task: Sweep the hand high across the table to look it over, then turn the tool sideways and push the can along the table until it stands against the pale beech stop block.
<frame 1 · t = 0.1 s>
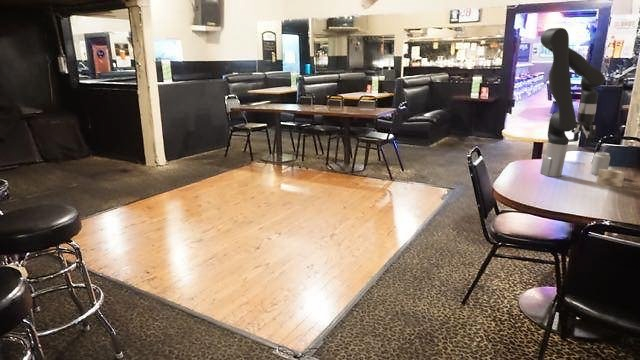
hand: (581, 143, 219), 17 cm above the table, tool pointing down, fingers open, 8 cm apart
can: (597, 174, 226), on the table
stop block: (608, 184, 208), on the table
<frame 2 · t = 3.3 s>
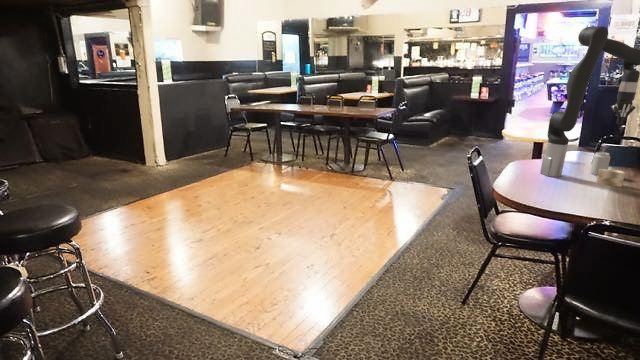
hand: (619, 123, 223), 27 cm above the table, tool pointing down, fingers closed
nothing on the table moved.
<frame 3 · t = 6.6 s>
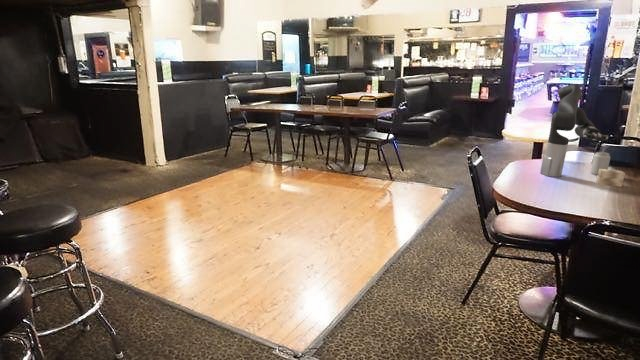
hand: (599, 139, 229), 17 cm above the table, tool horizontal, fingers closed
nothing on the table moved.
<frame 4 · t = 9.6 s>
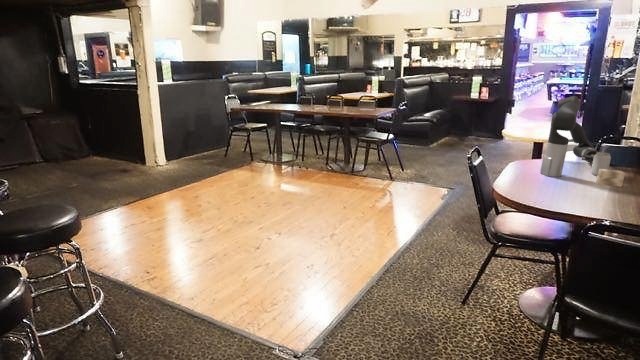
hand: (599, 162, 226), 6 cm above the table, tool horizontal, fingers closed
can: (598, 175, 225), on the table, touching gripper
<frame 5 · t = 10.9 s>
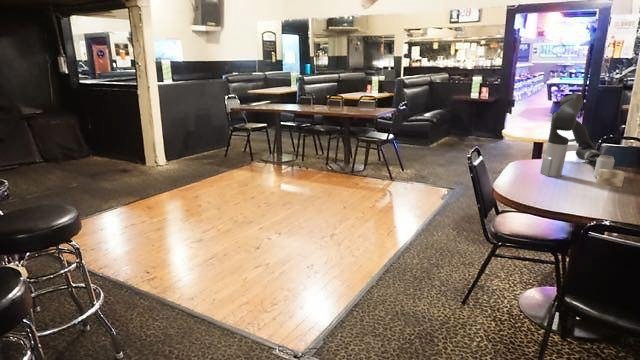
hand: (602, 165, 220), 6 cm above the table, tool horizontal, fingers closed
can: (601, 178, 218), on the table, touching gripper
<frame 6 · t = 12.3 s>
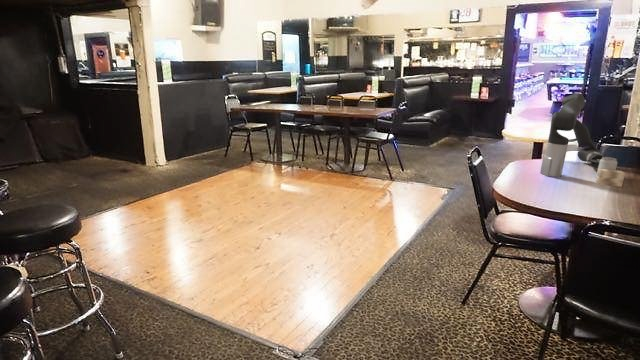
hand: (605, 167, 216), 6 cm above the table, tool horizontal, fingers closed
can: (603, 181, 214), on the table, touching gripper
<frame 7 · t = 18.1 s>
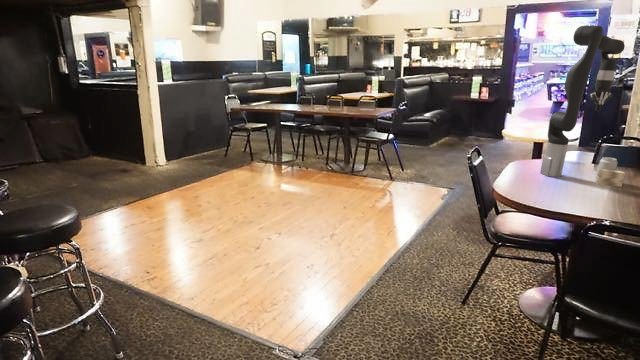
hand: (597, 111, 232), 32 cm above the table, tool pointing down, fingers closed
can: (604, 181, 214), on the table
at the end: can inside the target area (0.6 cm from its centre), on the table; can 6.4 cm from the stop block (horizontally); can tilted 0° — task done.
